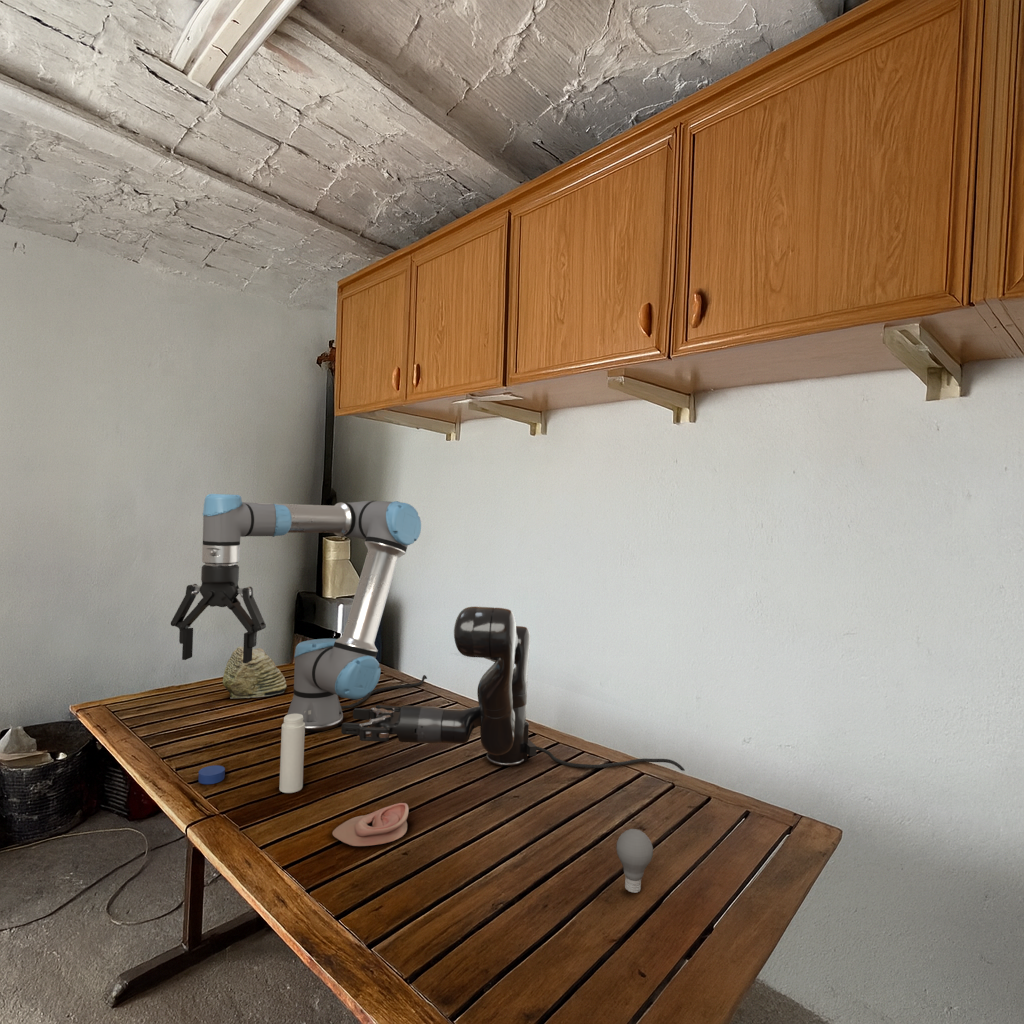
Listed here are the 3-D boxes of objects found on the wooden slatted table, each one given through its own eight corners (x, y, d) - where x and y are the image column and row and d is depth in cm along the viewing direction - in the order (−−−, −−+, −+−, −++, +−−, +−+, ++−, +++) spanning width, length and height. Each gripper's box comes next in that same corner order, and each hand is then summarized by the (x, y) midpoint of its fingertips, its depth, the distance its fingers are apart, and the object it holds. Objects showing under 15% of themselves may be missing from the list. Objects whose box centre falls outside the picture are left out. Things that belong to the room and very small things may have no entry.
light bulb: (610, 879, 108) (613, 822, 108) (644, 879, 109) (647, 822, 109) (619, 902, 102) (622, 840, 102) (655, 901, 103) (658, 840, 103)
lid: (226, 781, 139) (227, 772, 139) (200, 786, 136) (200, 777, 136) (222, 772, 143) (222, 763, 143) (196, 777, 140) (196, 768, 140)
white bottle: (275, 792, 135) (278, 719, 135) (284, 782, 140) (287, 712, 139) (297, 793, 135) (300, 721, 134) (306, 783, 139) (308, 713, 139)
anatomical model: (325, 820, 116) (352, 792, 127) (324, 841, 116) (352, 812, 128) (392, 830, 114) (415, 801, 125) (392, 852, 114) (414, 821, 125)
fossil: (218, 695, 195) (220, 647, 195) (278, 685, 208) (279, 640, 207) (228, 703, 189) (230, 653, 188) (289, 692, 201) (290, 645, 201)
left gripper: (155, 562, 136) (151, 661, 136) (268, 568, 135) (265, 667, 135) (175, 559, 143) (172, 652, 144) (283, 565, 142) (279, 659, 143)
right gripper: (428, 696, 143) (357, 692, 144) (416, 719, 129) (338, 715, 130) (427, 728, 144) (356, 725, 144) (415, 755, 130) (337, 751, 130)
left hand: (217, 660), depth 140 cm, fingers open, 13 cm apart
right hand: (347, 720), depth 137 cm, fingers open, 8 cm apart
